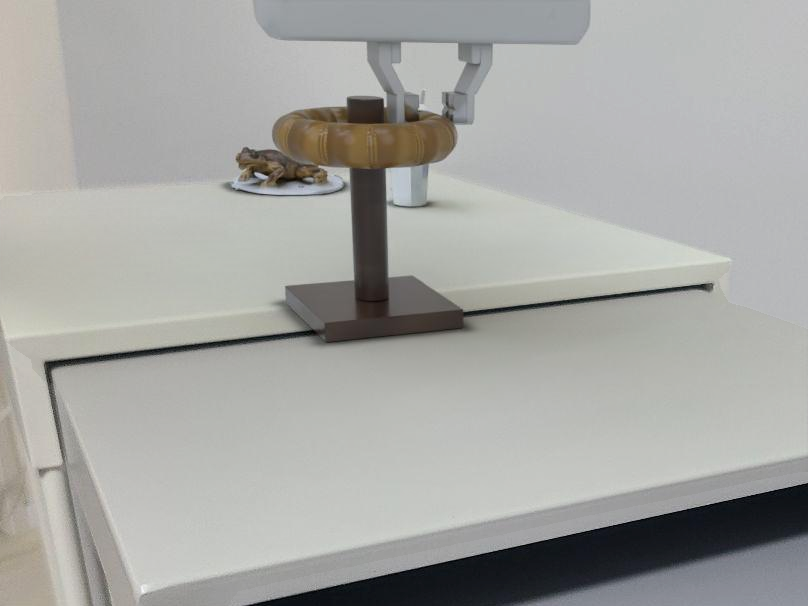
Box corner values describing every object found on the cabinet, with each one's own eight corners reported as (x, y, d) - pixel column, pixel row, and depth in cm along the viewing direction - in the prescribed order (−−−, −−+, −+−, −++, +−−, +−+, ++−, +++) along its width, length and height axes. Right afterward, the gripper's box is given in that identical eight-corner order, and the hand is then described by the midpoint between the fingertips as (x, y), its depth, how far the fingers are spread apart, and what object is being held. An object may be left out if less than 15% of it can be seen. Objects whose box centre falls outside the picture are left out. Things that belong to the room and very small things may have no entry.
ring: (304, 175, 59) (301, 129, 58) (256, 147, 67) (253, 106, 66) (484, 166, 63) (484, 123, 62) (418, 141, 72) (417, 102, 70)
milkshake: (446, 201, 105) (445, 91, 100) (418, 210, 101) (416, 95, 96) (406, 196, 107) (404, 87, 102) (376, 204, 102) (373, 91, 98)
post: (325, 342, 64) (312, 107, 58) (285, 303, 71) (270, 89, 65) (463, 327, 68) (464, 105, 62) (412, 292, 75) (409, 89, 69)
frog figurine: (267, 200, 102) (263, 158, 100) (207, 181, 110) (203, 141, 108) (367, 189, 109) (366, 150, 107) (304, 172, 117) (302, 134, 115)
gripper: (566, -123, 66) (556, 115, 73) (233, -153, 58) (255, 120, 64) (618, -129, 61) (602, 127, 68) (262, -162, 53) (282, 134, 59)
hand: (430, 124), depth 66 cm, fingers closed on ring, 2 cm apart
